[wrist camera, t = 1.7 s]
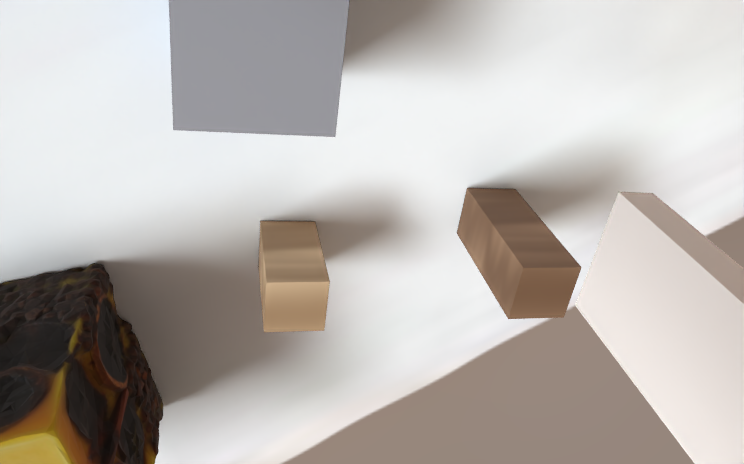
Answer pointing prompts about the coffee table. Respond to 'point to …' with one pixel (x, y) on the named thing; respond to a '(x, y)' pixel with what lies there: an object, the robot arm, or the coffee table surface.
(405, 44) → the coffee table surface
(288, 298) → the oak post
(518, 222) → the walnut post
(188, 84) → the grey matte cube
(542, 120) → the coffee table surface
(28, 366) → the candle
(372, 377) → the coffee table surface
